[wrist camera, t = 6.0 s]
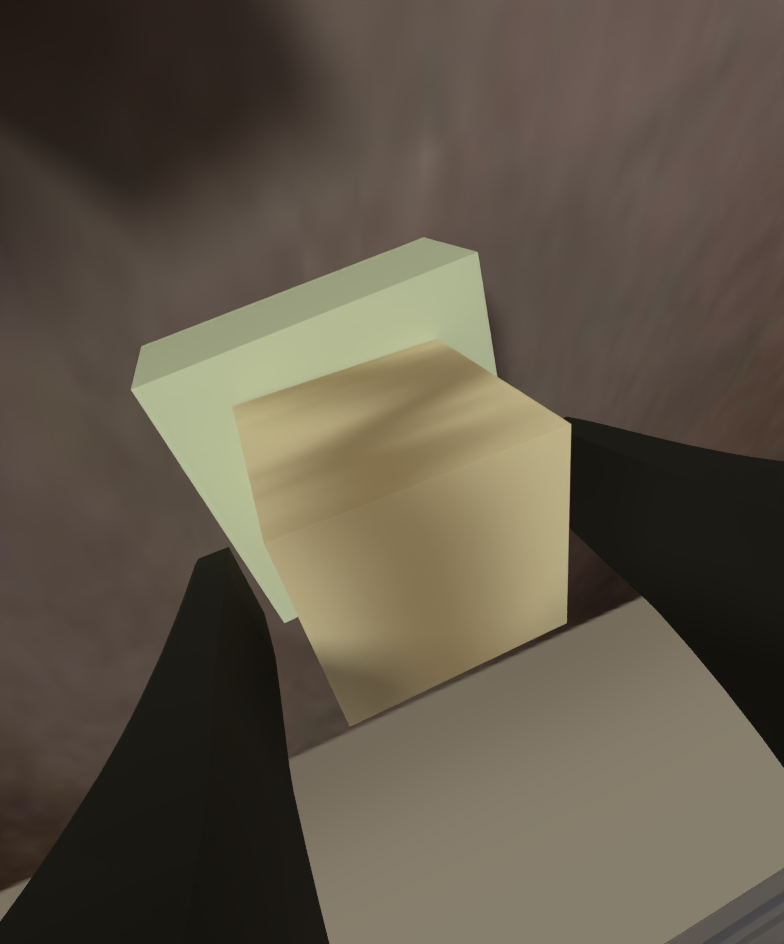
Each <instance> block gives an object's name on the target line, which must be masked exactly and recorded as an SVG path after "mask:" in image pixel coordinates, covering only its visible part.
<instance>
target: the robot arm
mask: <svg viewBox="0 0 784 944" xmlns="http://www.w3.org/2000/svg"><path fill="white" fill-rule="evenodd" d="M563 419H564V420H566V421H567V422H569V423H570V424H571V459H570V503H569V527H570V529H571V530H572V531H573V532H574V533H575V534H576V535H577V536H579V537H580V538H581V539H582V540H583V541H584V542H585V543H586V544H587V545H588V546H589V547H590V548H591V549H592V550H593V551H594V552H595V553H596V554H598V555H599V556H600V557H601V558H602V559H603V560H604V561H605V562H606V563H607V564H608V565H609V566H611V567H612V568H613V569H614V570H615V571H616V572H617V573H618V574H619V575H620V576H621V577H622V578H623V579H625V580H626V581H627V582H628V583H629V584H630V585H631V586H632V587H633V588H634V589H635V590H636V591H638V592H639V593H640V594H641V595H642V596H643V597H644V598H645V599H646V600H647V601H648V602H649V603H650V604H651V605H652V606H653V607H654V608H655V609H656V610H657V611H658V612H659V613H660V614H661V615H662V617H663V618H664V619H665V620H666V621H667V622H668V623H669V624H670V626H671V627H672V628H673V629H674V630H675V631H676V632H677V633H678V635H679V636H680V637H681V638H682V639H683V640H684V641H685V643H686V644H687V645H688V646H689V647H690V648H691V649H692V651H693V652H694V653H695V654H696V655H697V657H698V658H699V659H700V660H701V661H702V663H703V664H704V665H705V666H706V667H707V669H708V670H709V671H710V672H711V673H712V675H713V676H714V677H715V678H716V680H717V681H718V682H719V683H720V684H721V686H722V687H723V688H724V689H725V690H726V692H727V693H728V694H729V696H730V697H731V698H732V700H733V701H734V702H735V703H736V705H737V706H738V707H739V709H740V710H741V711H742V712H743V714H744V715H745V716H746V718H747V719H748V720H749V721H750V723H751V724H752V725H753V727H754V728H755V729H756V730H757V732H758V733H759V734H760V736H761V737H762V738H763V740H764V741H765V743H766V744H767V745H768V747H769V748H770V749H771V751H772V752H773V753H774V755H775V756H776V758H777V759H778V760H779V762H780V763H781V765H782V766H783V767H784V462H783V461H776V460H769V459H762V458H755V457H748V456H742V455H736V454H731V453H725V452H720V451H715V450H710V449H705V448H700V447H695V446H690V445H686V444H681V443H677V442H673V441H668V440H664V439H660V438H656V437H652V436H647V435H643V434H639V433H635V432H631V431H627V430H623V429H619V428H615V427H611V426H607V425H603V424H599V423H595V422H591V421H586V420H581V419H576V418H570V417H565V418H563ZM0 944H329V941H328V937H327V933H326V929H325V925H324V921H323V917H322V913H321V909H320V905H319V901H318V896H317V892H316V888H315V883H314V879H313V875H312V871H311V867H310V862H309V858H308V854H307V850H306V845H305V841H304V836H303V832H302V828H301V823H300V819H299V814H298V809H297V805H296V801H295V796H294V792H293V786H292V781H291V774H290V768H289V761H288V752H287V744H286V736H285V728H284V720H283V712H282V704H281V696H280V688H279V681H278V673H277V665H276V658H275V654H274V650H273V645H272V641H271V637H270V633H269V630H268V626H267V622H266V618H265V614H264V612H263V610H262V608H261V606H260V604H259V602H258V601H257V599H256V597H255V595H254V593H253V591H252V589H251V588H250V586H249V584H248V582H247V580H246V578H245V576H244V575H243V573H242V571H241V569H240V567H239V565H238V563H237V562H236V560H235V558H234V556H233V554H232V552H231V550H230V549H229V547H228V548H225V549H223V550H220V551H217V552H215V553H212V554H210V555H207V556H204V557H202V558H199V559H198V561H197V563H196V564H195V567H194V570H193V573H192V575H191V578H190V581H189V584H188V587H187V590H186V592H185V595H184V598H183V601H182V603H181V606H180V608H179V611H178V614H177V616H176V619H175V621H174V624H173V626H172V629H171V631H170V634H169V636H168V639H167V641H166V644H165V646H164V648H163V651H162V653H161V656H160V658H159V660H158V662H157V664H156V667H155V669H154V671H153V673H152V675H151V677H150V679H149V682H148V684H147V686H146V688H145V690H144V692H143V694H142V696H141V699H140V701H139V703H138V705H137V707H136V709H135V711H134V713H133V715H132V717H131V719H130V720H129V722H128V724H127V726H126V728H125V730H124V732H123V734H122V736H121V737H120V739H119V741H118V743H117V745H116V746H115V748H114V750H113V752H112V753H111V755H110V757H109V759H108V761H107V762H106V764H105V766H104V768H103V769H102V771H101V773H100V774H99V776H98V778H97V779H96V781H95V782H94V784H93V786H92V787H91V789H90V791H89V792H88V794H87V795H86V797H85V798H84V800H83V801H82V803H81V805H80V806H79V808H78V809H77V811H76V812H75V814H74V815H73V817H72V819H71V820H70V822H69V823H68V825H67V826H66V828H65V829H64V831H63V833H62V834H61V836H60V837H59V839H58V840H57V842H56V843H55V845H54V846H53V848H52V849H51V851H50V852H49V854H48V855H47V857H46V858H45V860H44V861H43V863H42V864H41V865H40V867H39V868H38V870H37V871H36V872H35V874H34V875H33V877H32V878H31V880H30V881H29V882H28V884H27V885H26V887H25V888H24V890H23V891H22V893H21V894H20V895H19V897H18V898H17V899H16V901H15V902H14V904H13V905H12V906H11V908H10V909H9V910H8V912H7V913H6V915H5V916H4V917H3V919H2V920H1V921H0ZM665 944H784V868H783V869H782V870H780V871H778V872H777V873H775V874H774V875H772V876H770V877H769V878H767V879H766V880H764V881H763V882H761V883H759V884H758V885H756V886H755V887H753V888H752V889H750V890H748V891H747V892H745V893H744V894H742V895H741V896H739V897H737V898H736V899H734V900H733V901H731V902H729V903H728V904H726V905H725V906H723V907H722V908H720V909H718V910H717V911H715V912H714V913H712V914H711V915H709V916H707V917H706V918H704V919H703V920H701V921H700V922H698V923H696V924H695V925H693V926H692V927H690V928H689V929H687V930H685V931H684V932H682V933H681V934H679V935H677V936H676V937H674V938H673V939H671V940H670V941H668V942H666V943H665Z"/></svg>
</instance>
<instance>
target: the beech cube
mask: <svg viewBox="0 0 784 944" xmlns="http://www.w3.org/2000/svg"><path fill="white" fill-rule="evenodd" d="M232 408H233V412H234V417H235V421H236V425H237V430H238V434H239V438H240V443H241V447H242V451H243V455H244V460H245V464H246V468H247V473H248V477H249V481H250V486H251V490H252V494H253V498H254V503H255V507H256V511H257V516H258V520H259V524H260V529H261V533H262V537H263V541H264V545H265V547H266V549H267V551H268V553H269V555H270V558H271V560H272V562H273V564H274V566H275V568H276V570H277V572H278V575H279V577H280V579H281V581H282V583H283V585H284V587H285V590H286V592H287V594H288V596H289V598H290V600H291V602H292V605H293V607H294V609H295V611H296V613H297V615H298V617H299V619H300V622H301V624H302V626H303V628H304V630H305V632H306V634H307V637H308V639H309V641H310V643H311V645H312V647H313V649H314V651H315V654H316V656H317V658H318V660H319V662H320V664H321V666H322V669H323V671H324V673H325V675H326V677H327V679H328V681H329V683H330V686H331V688H332V690H333V692H334V694H335V696H336V698H337V701H338V703H339V705H340V707H341V709H342V711H343V713H344V715H345V718H346V720H347V722H348V724H349V726H352V725H354V724H357V723H359V722H361V721H363V720H365V719H367V718H369V717H371V716H373V715H375V714H377V713H380V712H382V711H384V710H386V709H388V708H390V707H392V706H394V705H396V704H398V703H400V702H403V701H405V700H407V699H409V698H411V697H413V696H415V695H417V694H419V693H421V692H423V691H426V690H428V689H430V688H432V687H434V686H436V685H438V684H440V683H442V682H444V681H446V680H449V679H451V678H453V677H455V676H457V675H459V674H461V673H463V672H465V671H467V670H469V669H472V668H474V667H476V666H478V665H480V664H482V663H484V662H486V661H488V660H490V659H493V658H495V657H497V656H499V655H501V654H503V653H505V652H507V651H509V650H511V649H513V648H516V647H518V646H520V645H522V644H524V643H526V642H528V641H530V640H532V639H534V638H536V637H539V636H541V635H543V634H545V633H547V632H549V631H551V630H553V629H555V628H557V627H559V626H562V625H564V624H566V623H567V592H568V547H569V503H570V459H571V424H570V423H569V422H567V421H566V420H564V419H562V418H561V417H559V416H558V415H556V414H555V413H553V412H551V411H550V410H548V409H547V408H545V407H544V406H542V405H540V404H539V403H537V402H536V401H534V400H533V399H531V398H530V397H528V396H526V395H525V394H523V393H522V392H520V391H519V390H517V389H515V388H514V387H512V386H511V385H509V384H508V383H506V382H504V381H503V380H501V379H500V378H498V377H497V376H495V375H493V374H492V373H490V372H489V371H487V370H486V369H484V368H482V367H481V366H479V365H478V364H476V363H475V362H473V361H472V360H470V359H468V358H467V357H465V356H464V355H462V354H461V353H459V352H457V351H456V350H454V349H453V348H451V347H450V346H448V345H446V344H445V343H443V342H442V341H440V340H439V339H434V340H431V341H428V342H425V343H422V344H419V345H416V346H413V347H410V348H407V349H404V350H401V351H398V352H395V353H392V354H389V355H386V356H383V357H380V358H377V359H374V360H371V361H368V362H365V363H362V364H359V365H356V366H353V367H350V368H347V369H344V370H341V371H338V372H334V373H331V374H328V375H325V376H322V377H319V378H316V379H313V380H310V381H307V382H304V383H301V384H298V385H295V386H292V387H289V388H286V389H283V390H280V391H277V392H274V393H271V394H268V395H265V396H262V397H259V398H256V399H253V400H250V401H247V402H244V403H241V404H238V405H235V406H232Z"/></svg>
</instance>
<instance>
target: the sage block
mask: <svg viewBox="0 0 784 944" xmlns="http://www.w3.org/2000/svg"><path fill="white" fill-rule="evenodd" d="M434 339H439V340H440V341H442V342H443V343H445V344H446V345H448V346H450V347H451V348H453V349H454V350H456V351H457V352H459V353H461V354H462V355H464V356H465V357H467V358H468V359H470V360H472V361H473V362H475V363H476V364H478V365H479V366H481V367H482V368H484V369H486V370H487V371H489V372H490V373H492V374H493V375H495V376H497V372H496V365H495V359H494V353H493V346H492V340H491V333H490V327H489V321H488V314H487V308H486V302H485V295H484V289H483V283H482V276H481V270H480V263H479V257H478V252H476V251H472V250H468V249H465V248H461V247H457V246H453V245H450V244H446V243H442V242H439V241H435V240H431V239H427V238H424V237H423V238H421V239H418V240H416V241H413V242H411V243H408V244H405V245H403V246H400V247H398V248H395V249H392V250H390V251H387V252H385V253H382V254H379V255H377V256H374V257H372V258H369V259H366V260H364V261H361V262H359V263H356V264H354V265H351V266H348V267H346V268H343V269H341V270H338V271H335V272H333V273H330V274H328V275H325V276H322V277H320V278H317V279H315V280H312V281H309V282H307V283H304V284H302V285H299V286H297V287H294V288H291V289H289V290H286V291H284V292H281V293H278V294H276V295H273V296H271V297H268V298H265V299H263V300H260V301H258V302H255V303H252V304H250V305H247V306H245V307H242V308H240V309H237V310H234V311H232V312H229V313H227V314H224V315H221V316H219V317H216V318H214V319H211V320H208V321H206V322H203V323H201V324H198V325H195V326H193V327H190V328H188V329H185V330H183V331H180V332H177V333H175V334H172V335H170V336H167V337H164V338H162V339H159V340H157V341H154V342H151V343H149V344H146V345H144V346H141V350H140V354H139V358H138V363H137V367H136V371H135V375H134V379H133V383H132V387H131V390H132V392H133V394H134V395H135V397H136V398H137V400H138V401H139V403H140V404H141V406H142V407H143V409H144V410H145V412H146V413H147V415H148V416H149V418H150V419H151V421H152V422H153V424H154V425H155V427H156V428H157V430H158V432H159V433H160V435H161V436H162V438H163V439H164V441H165V442H166V444H167V445H168V447H169V448H170V450H171V451H172V453H173V454H174V456H175V457H176V459H177V460H178V462H179V463H180V465H181V466H182V468H183V470H184V471H185V473H186V474H187V476H188V477H189V479H190V480H191V482H192V483H193V485H194V486H195V488H196V489H197V491H198V492H199V494H200V495H201V497H202V498H203V500H204V501H205V503H206V504H207V506H208V508H209V509H210V511H211V512H212V514H213V515H214V517H215V518H216V520H217V521H218V523H219V524H220V526H221V527H222V529H223V530H224V532H225V533H226V535H227V536H228V538H229V539H230V541H231V542H232V544H233V546H234V547H235V549H236V550H237V552H238V553H239V555H240V556H241V558H242V559H243V561H244V562H245V564H246V565H247V567H248V568H249V570H250V571H251V573H252V574H253V576H254V577H255V579H256V580H257V582H258V584H259V585H260V587H261V588H262V590H263V591H264V593H265V594H266V596H267V597H268V599H269V600H270V602H271V603H272V605H273V606H274V608H275V609H276V611H277V612H278V614H279V615H280V617H281V618H282V620H283V622H284V623H286V622H288V621H290V620H292V619H294V618H296V617H298V615H297V613H296V611H295V609H294V607H293V605H292V602H291V600H290V598H289V596H288V594H287V592H286V590H285V587H284V585H283V583H282V581H281V579H280V577H279V575H278V572H277V570H276V568H275V566H274V564H273V562H272V560H271V558H270V555H269V553H268V551H267V549H266V547H265V545H264V541H263V537H262V533H261V529H260V524H259V520H258V516H257V511H256V507H255V503H254V498H253V494H252V490H251V486H250V481H249V477H248V473H247V468H246V464H245V460H244V455H243V451H242V447H241V443H240V438H239V434H238V430H237V425H236V421H235V417H234V412H233V408H232V406H235V405H238V404H241V403H244V402H247V401H250V400H253V399H256V398H259V397H262V396H265V395H268V394H271V393H274V392H277V391H280V390H283V389H286V388H289V387H292V386H295V385H298V384H301V383H304V382H307V381H310V380H313V379H316V378H319V377H322V376H325V375H328V374H331V373H334V372H338V371H341V370H344V369H347V368H350V367H353V366H356V365H359V364H362V363H365V362H368V361H371V360H374V359H377V358H380V357H383V356H386V355H389V354H392V353H395V352H398V351H401V350H404V349H407V348H410V347H413V346H416V345H419V344H422V343H425V342H428V341H431V340H434Z"/></svg>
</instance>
